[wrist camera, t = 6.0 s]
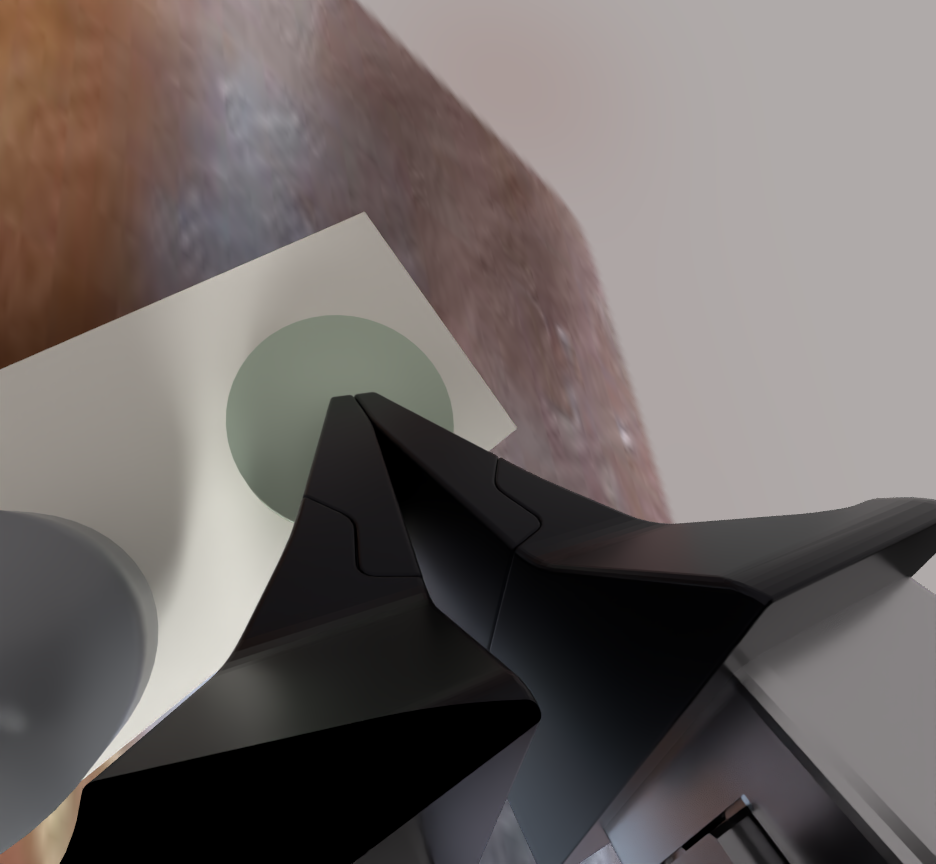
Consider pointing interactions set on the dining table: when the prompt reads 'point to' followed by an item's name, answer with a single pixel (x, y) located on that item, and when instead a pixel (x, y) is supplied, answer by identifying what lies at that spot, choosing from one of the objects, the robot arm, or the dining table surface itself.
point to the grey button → (64, 659)
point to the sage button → (318, 396)
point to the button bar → (200, 434)
